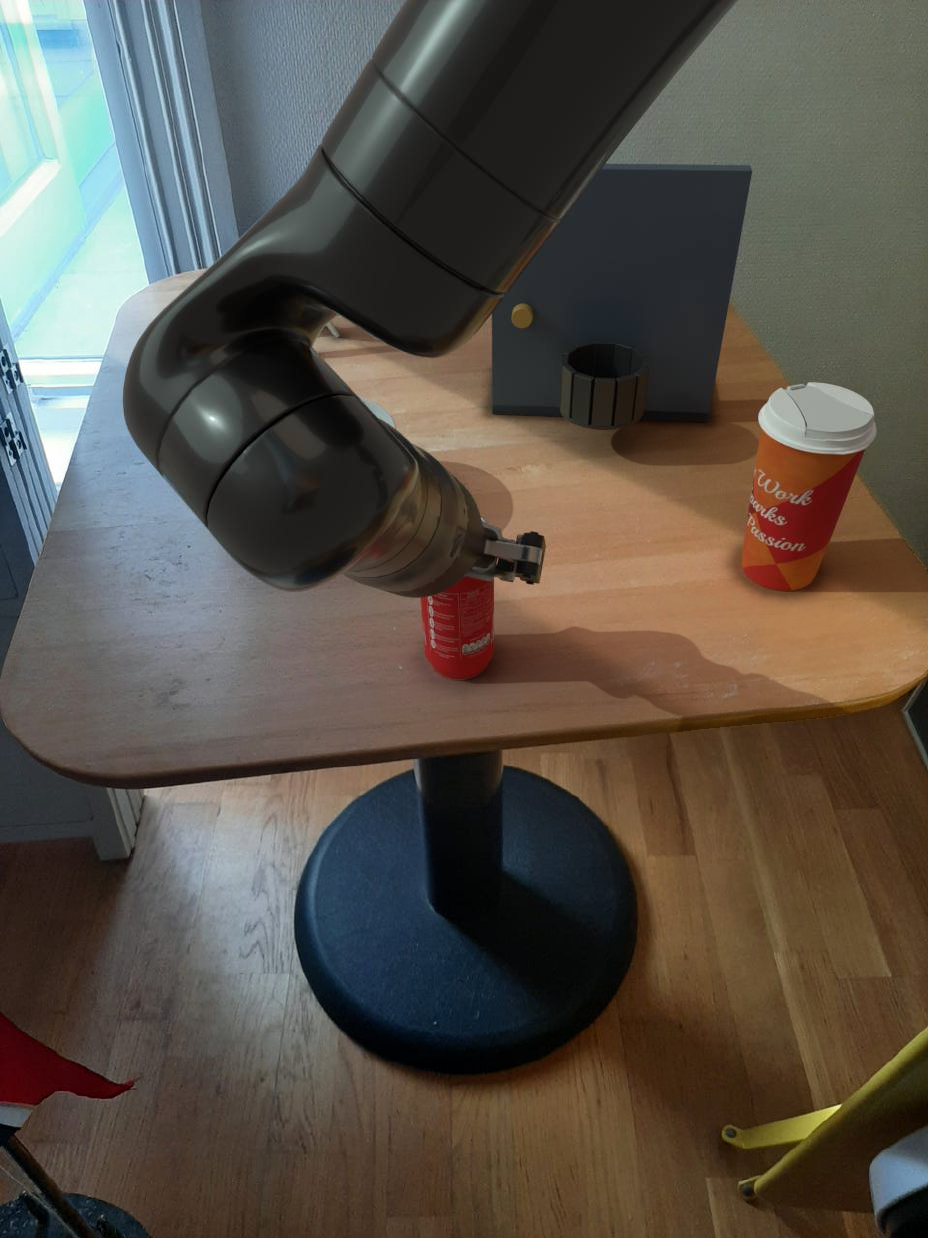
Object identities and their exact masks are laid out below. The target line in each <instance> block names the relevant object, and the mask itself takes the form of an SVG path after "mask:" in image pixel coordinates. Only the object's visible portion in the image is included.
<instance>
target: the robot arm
mask: <svg viewBox="0 0 928 1238" xmlns="http://www.w3.org/2000/svg"><path fill="white" fill-rule="evenodd" d="M738 1H739V0H405V1H404V2H403V4H402V5H401V7H400V9H399V10H398V11H397V13H396V14H395V16H394V17H393V19H392V21H391V23H390V24H389V26H388V27H387V29H386V31H385V33H384V34H383V35H382V37H381V39H380V41H379V43H378V44H377V46H376V47H375V49H374V51H373V53H372V55H371V58H369V59H368V60H367V62H366V64H365V66H364V67H363V69H362V71H361V73H360V74H359V76H358V78H357V80H356V81H355V83H354V84H353V86H352V87H351V90H350V91H349V93H348V95H347V97H346V98H345V100H344V101H343V103H342V104H341V107H340V108H339V110H338V111H337V113H336V115H335V116H334V118H333V120H332V122H331V124H330V125H329V127H328V129H327V130H326V132H325V133H324V135H323V136H322V139H321V143H320V144H318V145H317V148H316V150H315V151H314V153H313V155H312V156H311V158H310V160H309V162H308V164H307V165H306V167H305V169H304V170H303V172H302V174H301V175H300V176H299V177H298V179H297V180H296V181H295V182H294V184H293V185H292V186H291V187H290V188H289V189H288V190H287V191H286V192H285V193H284V194H283V195H282V196H281V197H280V198H279V199H278V200H277V201H276V202H275V203H274V204H273V205H272V206H271V207H270V208H268V210H266V212H265V213H264V214H263V215H261V216H260V217H259V218H258V219H257V220H256V221H255V222H254V224H252V225H251V226H250V227H249V228H248V229H247V230H246V231H245V232H244V233H243V234H242V235H241V236H240V237H239V238H238V239H237V240H236V241H235V242H234V243H233V244H232V245H231V246H230V247H229V248H228V249H227V250H226V251H225V252H224V253H223V254H222V255H221V256H219V258H217V260H215V261H214V263H212V264H211V265H210V266H209V267H208V268H207V269H206V270H205V271H204V272H203V273H202V274H201V275H200V276H198V278H196V279H195V280H194V281H193V282H191V283H190V284H189V285H188V286H187V287H186V288H185V289H184V290H183V291H181V292H180V293H179V294H178V295H177V296H176V297H175V298H174V299H173V300H172V301H170V303H168V305H166V306H165V307H164V308H163V309H162V310H161V311H160V312H159V314H157V315H156V317H155V318H154V319H153V320H152V321H151V322H150V323H149V324H148V325H147V326H146V328H145V329H144V331H143V332H142V334H141V335H140V337H139V338H138V340H137V341H136V343H135V345H134V347H133V349H132V352H131V353H130V357H129V360H128V364H127V366H126V370H125V373H124V379H123V387H122V410H123V419H124V422H125V425H126V429H127V430H128V433H129V435H130V437H131V439H132V440H133V442H134V443H135V445H136V447H137V448H138V450H139V451H140V452H141V453H142V454H143V456H144V457H145V458H146V460H147V461H148V462H149V463H150V465H152V466H153V468H154V469H155V470H156V472H157V473H159V475H160V476H161V477H162V478H163V479H164V480H165V482H166V483H167V485H168V486H169V487H170V488H171V489H172V490H173V491H174V492H175V494H176V495H177V496H178V497H179V498H180V499H181V500H182V502H183V503H184V504H185V506H187V507H188V508H189V509H190V511H191V512H192V513H193V514H194V516H195V517H196V518H197V519H198V520H199V522H201V524H202V525H203V526H204V527H205V528H206V530H208V531H209V533H210V534H211V536H212V537H213V538H214V540H215V541H216V542H217V543H218V544H219V546H221V547H222V549H223V550H224V551H225V553H227V555H228V556H230V558H231V559H232V560H233V561H234V562H235V563H236V564H238V565H239V566H240V568H242V569H243V570H244V571H246V572H247V573H248V574H249V575H250V576H252V577H254V578H255V579H257V580H258V581H260V582H262V583H264V584H265V585H266V586H269V587H271V588H274V589H276V590H279V591H283V592H287V593H301V592H305V591H309V590H313V589H315V588H318V587H320V586H323V585H324V584H326V583H329V582H331V581H333V580H334V579H335V578H337V577H339V576H340V575H343V576H345V577H346V578H348V579H349V580H351V581H353V582H356V583H358V584H360V585H363V586H366V587H370V588H373V589H375V590H376V589H377V590H380V591H383V592H386V593H389V594H393V595H396V596H400V597H404V598H411V599H421V598H422V597H428V596H433V595H436V594H439V593H441V592H443V591H445V590H447V589H449V588H450V587H452V586H453V585H455V584H456V583H457V582H458V581H460V580H461V579H462V578H463V577H467V578H471V579H474V580H483V581H492V580H493V579H494V580H495V578H498V579H499V580H500V581H503V582H508V583H514V582H515V580H516V579H515V578H519V580H520V581H521V582H525V584H526V585H532V586H534V584H541V583H540V582H541V577H542V571H543V566H544V560H545V553H546V550H547V549H546V548H547V544H546V538H545V536H544V535H542V534H539V532H538V531H532V530H531V531H529V532H523V534H521V533H518V534H517V535H516V540H515V539H513V538H506V537H504V536H503V532H502V529H501V528H499V526H498V527H497V526H494V525H491V524H489V523H488V524H486V523H483V522H482V520H481V517H482V516H481V513H480V510H479V507H478V504H477V503H476V500H475V499H474V497H473V494H471V492H470V491H469V489H468V488H466V486H465V484H463V483H462V482H461V481H460V480H459V479H458V478H457V477H456V476H454V474H452V472H450V471H449V469H447V468H446V467H445V466H444V465H443V464H442V463H441V462H440V460H438V459H437V458H435V457H434V456H433V455H432V454H431V453H429V451H426V450H425V449H423V448H422V447H420V446H418V445H416V444H414V443H412V441H410V440H409V439H408V438H407V437H406V436H405V435H404V434H403V433H401V431H399V430H398V429H397V428H396V429H395V428H394V427H392V426H391V425H390V424H388V423H386V422H385V421H383V420H381V419H379V418H378V417H377V416H376V415H375V414H374V413H373V412H372V411H371V410H370V409H369V408H368V406H367V405H366V404H365V403H364V402H363V401H361V399H360V398H359V397H360V396H358V394H357V393H356V392H355V391H354V390H353V389H352V388H351V387H350V386H349V385H348V384H347V383H346V382H345V380H344V379H343V378H342V377H341V376H340V375H339V374H338V373H337V372H336V371H335V370H334V369H333V368H332V367H331V366H330V365H329V364H328V362H327V361H326V360H325V359H324V358H323V357H322V356H321V355H320V354H319V353H318V352H317V350H315V349H314V345H315V343H316V341H317V339H318V337H319V335H320V334H321V333H322V331H323V330H324V329H325V327H327V326H326V325H327V324H328V323H329V322H330V321H332V322H333V320H334V319H336V318H338V317H339V316H340V317H341V318H343V319H344V320H346V321H348V322H349V323H351V325H352V324H353V325H354V326H355V327H356V328H359V329H360V330H362V331H363V332H365V333H366V334H368V335H370V336H371V337H373V338H374V339H376V340H379V341H380V342H382V343H384V344H385V345H388V346H389V347H391V348H393V349H395V350H397V351H400V352H402V353H404V354H405V353H406V354H408V355H411V356H414V357H420V358H427V359H438V358H443V357H447V356H450V355H451V354H453V353H455V352H457V351H459V350H460V349H461V348H463V347H464V346H465V345H466V344H467V343H468V342H469V341H470V340H471V339H472V338H473V337H474V336H475V335H476V334H477V333H478V332H479V331H480V329H481V328H482V327H483V325H484V324H485V323H486V322H487V320H488V319H489V318H490V317H491V316H492V313H493V311H494V310H495V309H496V307H497V306H498V305H499V303H500V302H501V301H502V299H503V298H504V296H505V294H506V292H508V291H509V290H510V288H511V287H512V286H513V284H514V283H515V282H516V281H517V279H518V278H519V277H520V275H521V274H522V273H523V271H524V270H525V269H526V267H527V266H528V265H529V263H530V262H531V261H532V259H533V258H534V257H535V256H536V254H537V253H538V252H539V250H540V249H541V248H542V246H543V245H544V244H545V242H546V241H547V240H548V238H549V237H550V236H551V234H552V233H553V232H554V231H555V229H556V228H557V227H558V225H559V224H560V223H561V220H563V219H564V218H565V216H566V215H567V214H568V212H569V211H570V210H571V208H572V207H573V206H574V204H575V203H576V202H577V200H578V199H579V198H580V196H581V195H582V194H583V192H584V191H585V190H586V188H587V187H588V186H589V185H590V183H591V182H592V181H593V179H594V178H595V177H596V175H597V174H598V173H599V171H600V170H601V169H602V167H603V166H604V165H605V164H607V162H608V161H609V160H610V158H611V157H612V155H613V154H614V153H615V151H617V149H618V148H619V147H620V146H621V144H622V142H623V141H624V140H625V139H626V138H627V136H628V135H629V133H630V132H631V131H632V130H633V128H634V127H635V126H636V124H637V123H638V122H639V121H640V119H642V117H643V116H644V115H645V113H646V112H647V111H648V110H649V108H650V107H651V106H652V105H653V103H654V102H655V101H656V100H657V98H658V97H659V96H660V94H661V93H662V92H663V91H664V90H665V88H666V87H667V86H668V85H669V84H670V82H671V81H672V80H673V78H674V77H675V76H676V75H677V73H678V72H679V71H680V70H681V68H683V66H684V65H685V64H686V62H687V61H688V60H689V59H690V58H691V57H692V55H693V54H694V53H695V52H696V51H697V49H698V48H699V47H700V46H701V45H702V44H703V42H704V41H705V40H706V39H707V37H708V36H709V35H710V34H711V33H712V32H713V31H714V29H715V28H716V27H717V25H719V23H720V22H721V21H722V20H723V19H724V17H725V16H726V15H727V14H728V13H729V12H730V11H731V9H732V8H733V7H734V6H735V5H736V4H737V3H738ZM323 328H324V329H323ZM471 567H473V568H471Z"/></svg>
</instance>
